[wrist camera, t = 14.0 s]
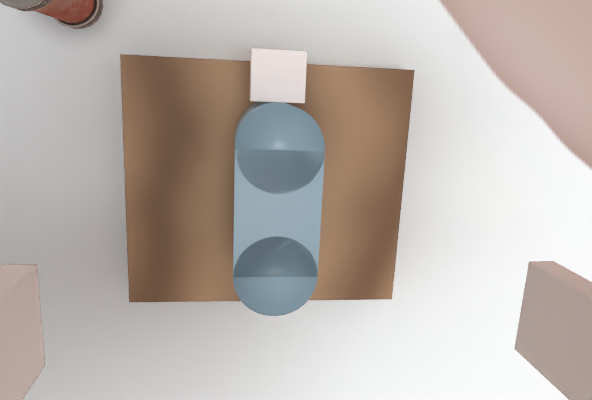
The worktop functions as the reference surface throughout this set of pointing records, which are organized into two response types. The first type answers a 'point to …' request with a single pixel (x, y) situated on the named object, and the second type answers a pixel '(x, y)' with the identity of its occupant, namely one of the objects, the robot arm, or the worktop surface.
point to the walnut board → (220, 175)
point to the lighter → (63, 10)
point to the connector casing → (277, 188)
